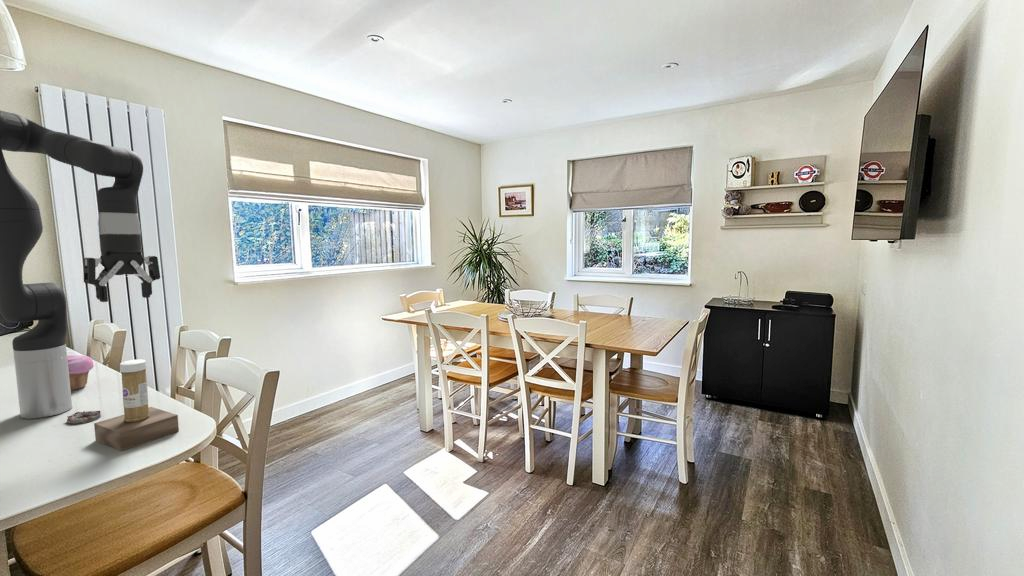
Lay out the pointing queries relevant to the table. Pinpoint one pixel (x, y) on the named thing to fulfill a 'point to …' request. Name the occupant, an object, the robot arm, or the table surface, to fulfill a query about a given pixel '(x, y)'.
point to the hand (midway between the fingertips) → (125, 299)
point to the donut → (83, 417)
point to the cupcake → (79, 370)
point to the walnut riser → (136, 429)
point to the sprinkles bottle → (134, 390)
